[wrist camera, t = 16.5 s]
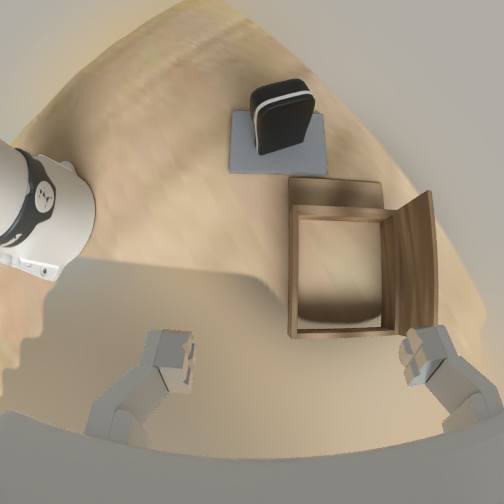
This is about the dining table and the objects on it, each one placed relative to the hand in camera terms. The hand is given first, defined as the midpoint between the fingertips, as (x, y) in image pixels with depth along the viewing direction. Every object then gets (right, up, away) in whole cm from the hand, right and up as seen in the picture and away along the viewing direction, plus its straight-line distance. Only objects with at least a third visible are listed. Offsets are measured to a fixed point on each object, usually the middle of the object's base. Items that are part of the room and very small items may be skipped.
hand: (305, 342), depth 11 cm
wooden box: (+10, +3, +28) cm, 30 cm away
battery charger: (+1, +19, +30) cm, 35 cm away
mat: (+2, +18, +31) cm, 36 cm away
